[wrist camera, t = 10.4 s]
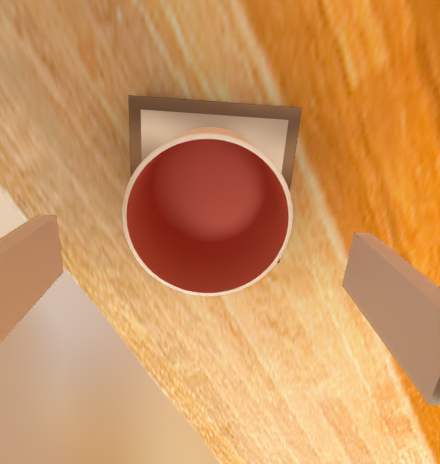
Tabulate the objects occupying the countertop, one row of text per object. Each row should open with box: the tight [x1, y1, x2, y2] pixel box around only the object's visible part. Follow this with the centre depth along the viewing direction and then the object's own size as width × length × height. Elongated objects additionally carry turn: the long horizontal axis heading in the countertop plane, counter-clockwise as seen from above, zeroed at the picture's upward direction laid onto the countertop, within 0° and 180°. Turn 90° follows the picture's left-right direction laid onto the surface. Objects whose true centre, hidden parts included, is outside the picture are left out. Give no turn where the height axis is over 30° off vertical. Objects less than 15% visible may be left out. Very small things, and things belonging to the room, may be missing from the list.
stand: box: [129, 95, 302, 263], centre depth 30 cm, size 14×14×3 cm
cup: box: [122, 127, 293, 296], centre depth 23 cm, size 10×10×10 cm
